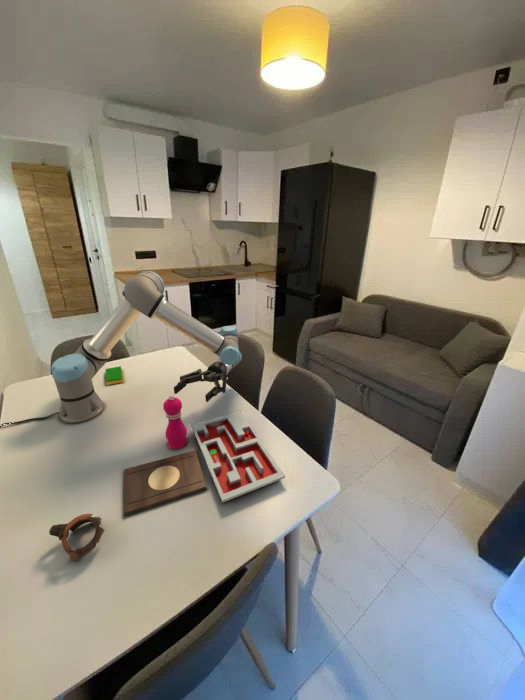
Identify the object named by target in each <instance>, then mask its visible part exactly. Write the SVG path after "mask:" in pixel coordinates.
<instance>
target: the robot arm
mask: <svg viewBox="0 0 525 700" xmlns="http://www.w3.org/2000/svg"><path fill="white" fill-rule="evenodd" d="M164 291H165V282H164V280H163V279H162V277H161V276H160V275H159V274H158V273H156V272H154V271H152V270H143V271H139V272H138V273H137V274H136V275H134V276H133V277H130V278H129V279H128V280H127V281H126V283H125V285H124V288H123V290H122V293H121V295H122V299H121V300H120V302H119V303H118V304H117V305H116V307H115V308H114V309H113V310H112V312H111V313H110V314H109V315H108V317H107V318H106V319H105V320H104V322H103V323H102V324H101V326H100V327H99V328H98V329H97V331H96V332H95V333H94V335H93V336H92V337H91V338H87V339H85V340H83V342H82V343H81V345H80V346H79V347H78V348H77V350H76V351H75V352H74V353H70V354H66V355H64V356H62V357H59V358H57V359H55V361H53V363H52V364H51V375H52V379H53V381H54V383H55V387H56V391H57V393H58V396H59V398H60V404H59V411H57V412H53V413H51V414H49V415H47V416H43V417H32V418H28V419H27V418H26V419H22V420H19V421H10V422H4V423H1V424H0V425H2V426H0V428H2V427H3V426H5V425H3V424H7V425H6V426H8V425H17V424H23V423H26V422H30V421H37V420H38V421H39V420H40V421H41V420H45V419H46V420H47V419H49V418H51V417H54V416H56V415H59V418H60V420H61V422H64V423H67V424H79V423H84V422H87V421H89V420H92V419H94V418H96V417H97V416H98V415H100V414H101V412H103V410H104V407H105V405H104V402H103V400H102V399H101V397H100V396H99V395H98V394H97V392H96V391H95V388H94V387H95V386H94V383H93V378H94V377H95V376H96V375H97V374H98V372H100V370H101V369H102V368H103V367H104V366H105V365H106V363H107V362H108V360H109V359H110V357H111V356H112V351H111V350H113V348H114V347H115V346H116V344H117V343H118V342H119V341H120V340H121V338H122V337H123V336H124V335H125V334H126V332H128V330H129V329H130V328H131V326H133V324H134V323H135V321H136V320H137V319H138V318H139V316H140V315H141V314H142V315H144V316H146V317H148V318H149V319H157V320H158V321H160V322H161V323H162V324H164V325H166V326H168V327H170V328H172V329H173V330H175V331H176V332H178V333H179V334H181V335H183V336H185V337H186V338H188V339H190V340H191V341H193V342H195V343H197V344H198V345H199V346H202V347H203V348H204V349H206V350H208V351H210V352H211V353H213V354H214V355H216V356H218V357H219V358H217V359H216V360H215V361H214V362H213V363H211V364H210V365H209V366H208V367H207V369H206V370H204V371H202V369H201V368H198V369H196V370H195V371H192V372H188V373H186V374H183V375H180V376H179V381H178V382H177V384H176V385H175V386H174V387H173V392H174V393H173V394H175V395H177V394H179V392H180V391H182V390H183V389H185V388H186V387H187V385H189V384H194V383H197V382H201V383H203V382H209V383H213V384H214V387H212V388H211V389H210V390H209V391H208V392H207V393H206V394H205V397H204V398H205V402H206V403H208V402H210V401H211V400H212V399H213V398H214V397H217V396H218V394H220V393H222V394H226V392H227V383H228V381H229V375H228V374H229V373H230V372H231V371H232V370H233V369H235V367H237V366H239V364H240V363H241V362H242V359H243V355H242V352H241V351H240V347H239V332H238V327H236V326H233V325H225V326H222V327H221V328H220V330H219V332H220V333H219V332H218V331H216V330H214V329H212V327H209V326H208V325H206V324H205V323H203V322H201V321H200V320H198V319H196V318H195V317H193V316H192V315H191V314H188V312H185V310H183V309H181V308H179V307H178V306H176V305H174V304H173V303H171V302H170V301H168V300H167V296H165V295H164ZM220 381H222V383H221V384H222V385H221V384H220ZM12 422H14V423H12ZM9 423H11V424H9Z"/></svg>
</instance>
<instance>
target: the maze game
mask: <svg viewBox="0 0 525 700" xmlns="http://www.w3.org/2000/svg"><path fill="white" fill-rule="evenodd" d="M191 428H192V432H193V433H194V434H193V435H194V436H195V439H196V441H197V445H198V446H199V448H200V449H199V450H200V451H201V453H202V456H203V458H204V462H205V463H206V466H207V468H208V471H209V473H210V476H211V478H212V480H213V482H214V485H215V488H216V490H217V493H218V495H219V498H220V499H221V500H220V501H221V503H222V504H223V503H225V502H228V501H230V500H233V499H235V498H238V497H241V496H242V495H246V494H247V493H250V492H253V491H255V490H259V489H260V488H262V487H266V486H268V485H270V484H272V483H275V482H278V481H280V480H284V479H285V478H286V475H285V473H284V472H283V470H282V469H281V468H280V466H279V465H278V463H277V462H276V461H275V458H274V457H273V456H272V454H271V453H270V452H269V450H268V449H267V447H266V446H265V445H264V443H263V441H262V439H261V438H260V437H259V436H258V434H257V433H256V431H255V430H254V428H253V427H252V425H251V424H250V423H249V421H248V420H247V419H246V417H245V415H244V414H243V413H242V411H238V412H234V413H230V414H226V415H223V416H219V417H216V418H212V419H208V420H204V421H200V422H197V423H193V424H191Z"/></svg>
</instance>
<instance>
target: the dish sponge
mask: <svg viewBox="0 0 525 700" xmlns="http://www.w3.org/2000/svg"><path fill="white" fill-rule="evenodd" d="M120 383H124V376H123V371H122V366H121V365H119V366H114V367H108V368H105V384H106V385H107V386H111V385H115V384H120Z"/></svg>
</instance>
